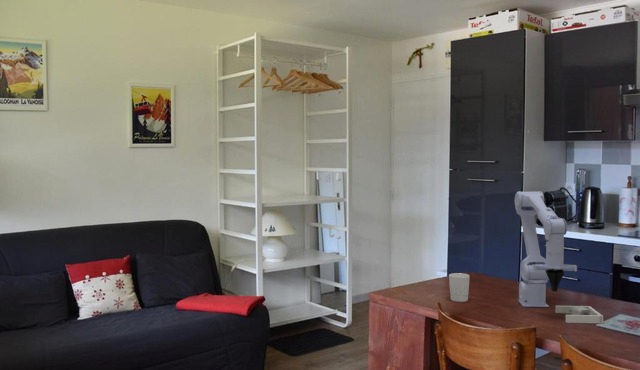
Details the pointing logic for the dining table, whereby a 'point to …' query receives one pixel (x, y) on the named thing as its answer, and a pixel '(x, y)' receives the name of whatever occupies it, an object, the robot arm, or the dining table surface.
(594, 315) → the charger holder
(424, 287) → the dining table surface
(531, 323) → the dining table surface
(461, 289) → the white cup
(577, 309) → the usb wall charger
